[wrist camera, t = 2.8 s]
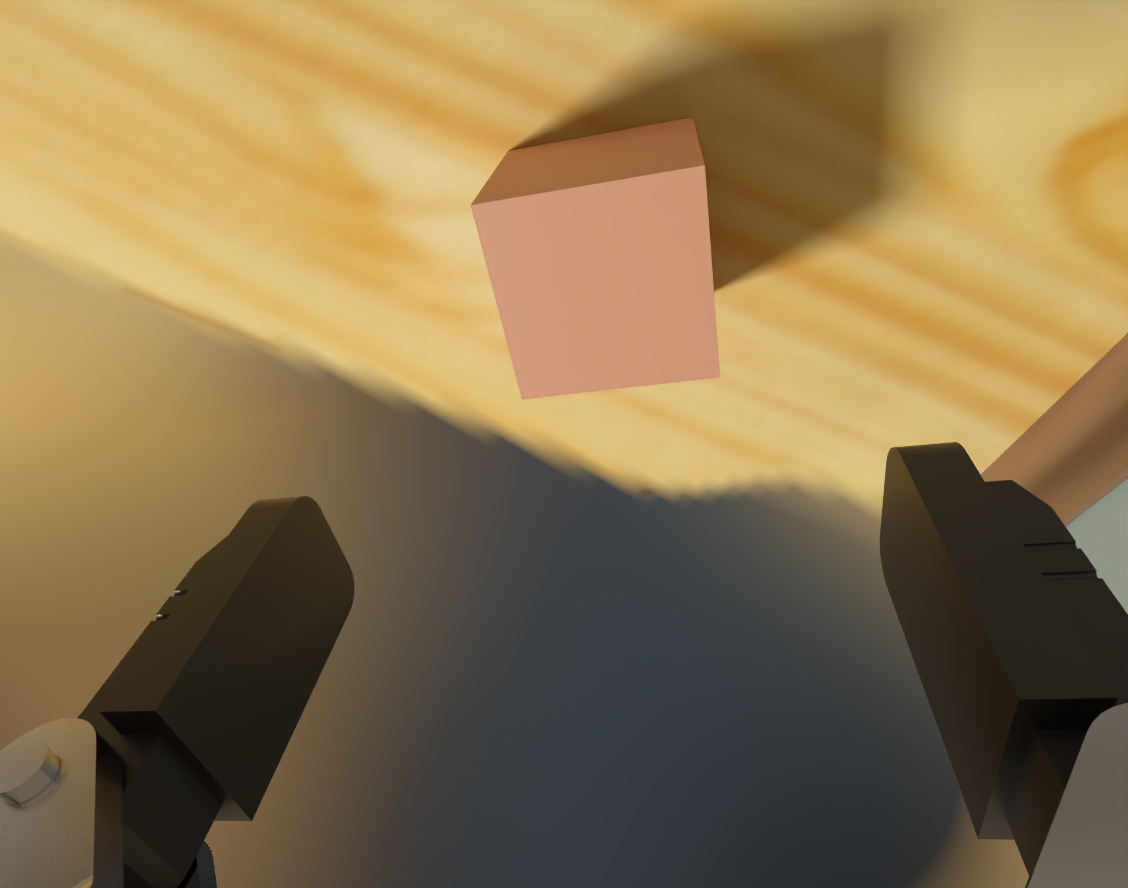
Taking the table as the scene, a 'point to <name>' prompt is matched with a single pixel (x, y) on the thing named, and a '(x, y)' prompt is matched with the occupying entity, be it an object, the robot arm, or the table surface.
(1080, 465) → the tower base block
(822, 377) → the table surface
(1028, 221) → the table surface
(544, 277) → the terracotta block
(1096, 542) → the tower top block
